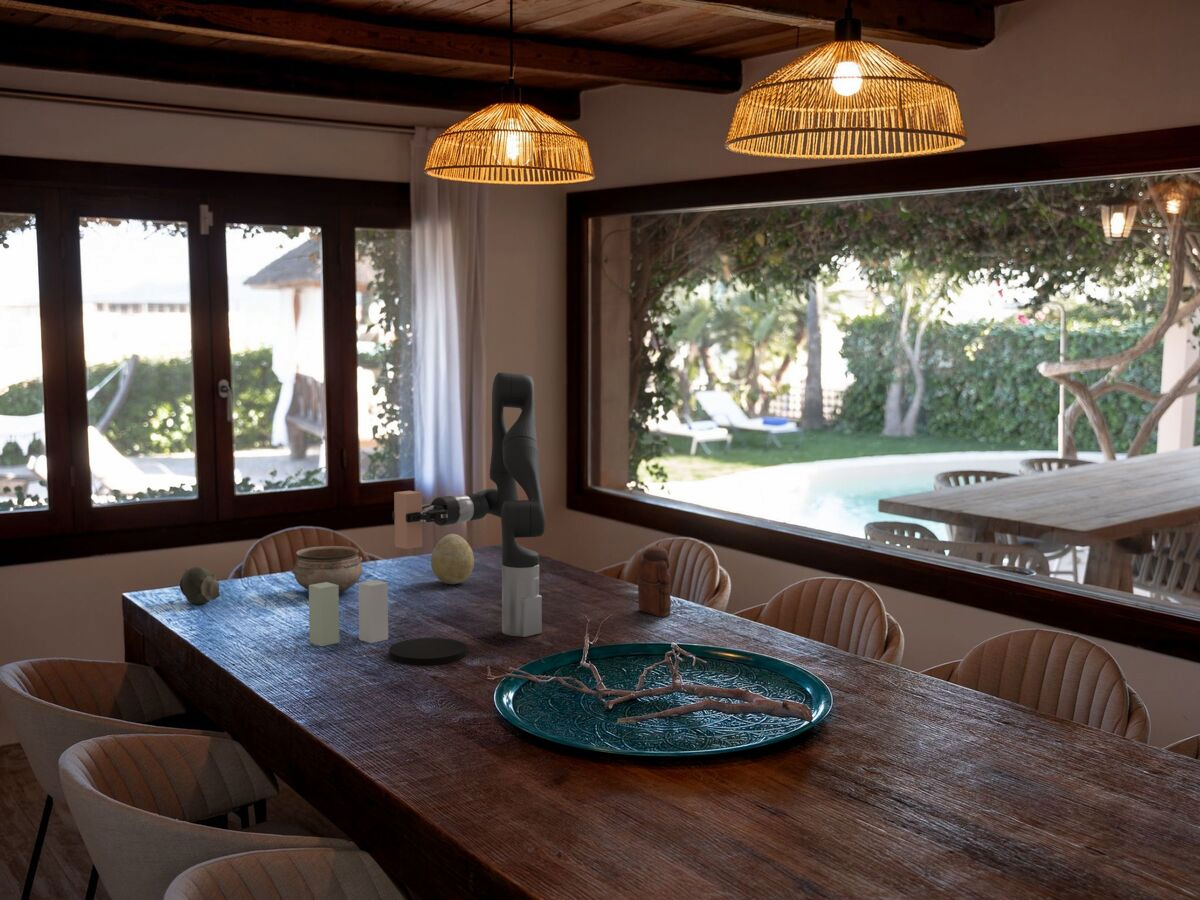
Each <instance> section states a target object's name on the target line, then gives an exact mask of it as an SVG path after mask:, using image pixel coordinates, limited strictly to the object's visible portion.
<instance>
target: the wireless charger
mask: <svg viewBox="0 0 1200 900" xmlns="http://www.w3.org/2000/svg"><path fill="white" fill-rule="evenodd" d="M388 649H389V650H388V655H389V656H388V657H389V659H390V660H391V661H392V662H395V663H397V664H402V665H407V666H415V667H416V666H418V667H423V666H424V667H428V666H429V667H430V666H431V667H432V666H440V665H441V666H442V665H448V664H453V663H456V662H459V661H462V660H463V659H464V658H466V656H467V655H468V647H467V644H466V643H464V642H463V641H460V640H456V639H452V638H445V637H420V638H412V639H407V640H402V641H399V642H396V643H394V644H392V645H390V647H389V648H388Z"/></svg>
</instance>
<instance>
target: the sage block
mask: <svg viewBox="0 0 1200 900" xmlns="http://www.w3.org/2000/svg"><path fill="white" fill-rule="evenodd" d="M339 595H340V594H339V585H336V584H332V583H328V582H324V583H318V584H312V585H309V590H308V610H309V611H308V612H309V613H308V619H309V620H308V621H309V625H308V627H309V643H311V644H314V645H316V646H320V647H324V646H329V645H334V644H339V643H340V612H339V611H340V604H339V602H340V600H339V598H340V596H339Z"/></svg>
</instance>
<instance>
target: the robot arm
mask: <svg viewBox="0 0 1200 900" xmlns="http://www.w3.org/2000/svg"><path fill="white" fill-rule="evenodd" d="M535 393H536V392H535V382H534V380H533V378H532V376H530V375H529V374H525V373H523V374H522V373H513V372H497V374H496V375H495V376H494V378H493V382H492V390H491V436H492V437H491V457H490V464H489V465H490V466H489V478H490V480H491V481H492V482H493V483H495V486H496V488H486V489H483V490H481V491H478V492H476V493H469V494H454V495H446V496H438V497H435V498H434V499H433V500H432V501H431V504H422V511H420V512H415V513H407V514H406V522H416V521H421V522H422V523H431V522H433V523H434V524H436V525H437V526H439V527H441V526H443V527H444V526H448V525H455V524H456V525H457V524H462V523H464V522H468V521H476V520H481V519H483V518H484V517H485V516H487V515H488V514H490V515H493V516H495V517H499V518H500V523H501V524H500V525H501V540H502V541H501V544H502V545H501V546H502V547H501V548H502V551H501V553H502V555H501V558H502V559H501V560H502V561H501V633H502V634H503V635H506V636H510V637H522V638H525V637H530V636H535V635H537V634H542V631H543V629H542V626H543V625H542V621H543V619H542V618H543V617H542V615H543V599H542V598H543V597H542V595H540V555H539V553H538V552H537V551H535V550H533V549H529V548H526V547H524V546H522V545H520V544H518V543H517V541H516V538H519V539H520V538H537V537H542V536H543V534H545V530H546V526H547V525H546V524H547V523H546V511H545V505H544V498H543V491H542V486H541V477H540V459H539V458H540V456H539V446H538V445H539V444H538V438H537V429H536V416H535V415H536V414H535V413H536V409H535V408H536V407H535V401H536V399H535ZM504 408H515V409H520V410H521V413H519V416H518V417H517V419H516V421H515V422H514V423H513V424H512V426H511V427H509V428H508V427H507V425H506V421H505V417H504ZM517 484H518V485H519V486H520V487H521V488H522V490H523V491H524V493H525V495H526V498H527V499H523V500H522V499H521V500H520V499H519V495H518V490H517V489H518V488H517ZM392 520H393V521H395V512H394V510H393V511H392Z"/></svg>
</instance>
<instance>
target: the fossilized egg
mask: <svg viewBox="0 0 1200 900" xmlns="http://www.w3.org/2000/svg"><path fill="white" fill-rule="evenodd" d="M430 558H431V559H430V564H431V565H430V566H431V569H432V571H433V575H435V577H436V578H437V579H438V580H439V581H441V582H442V583H444V584H448V585H457V584H460V583H462V582H464V581H466V580H467V579H468V577H469V576H470V575H471V573H472V571H473V570H474V566H475V557H474V552H473V550H472V548H471V545H470V544H469V543H468V542H467V540H466V539H464V537H463V536H460V535H459V534H456V533H448V534H447V535H445V536H443V537H442V538H441V539H439V541H438V542H437V543H436V545H435V546H434V548H433V550H432V552H431V557H430Z"/></svg>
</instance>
